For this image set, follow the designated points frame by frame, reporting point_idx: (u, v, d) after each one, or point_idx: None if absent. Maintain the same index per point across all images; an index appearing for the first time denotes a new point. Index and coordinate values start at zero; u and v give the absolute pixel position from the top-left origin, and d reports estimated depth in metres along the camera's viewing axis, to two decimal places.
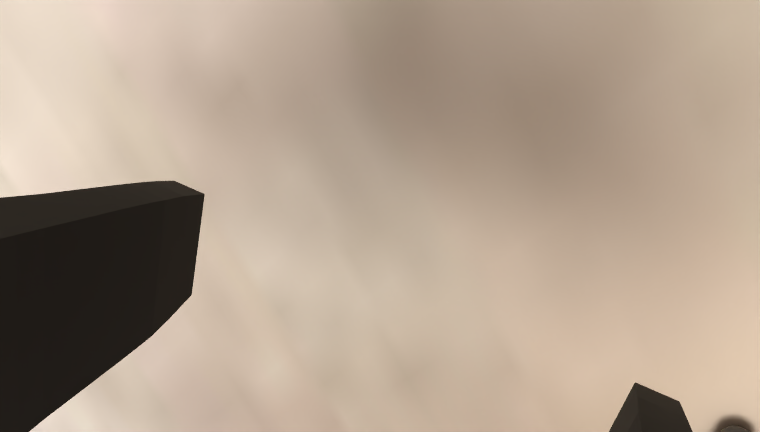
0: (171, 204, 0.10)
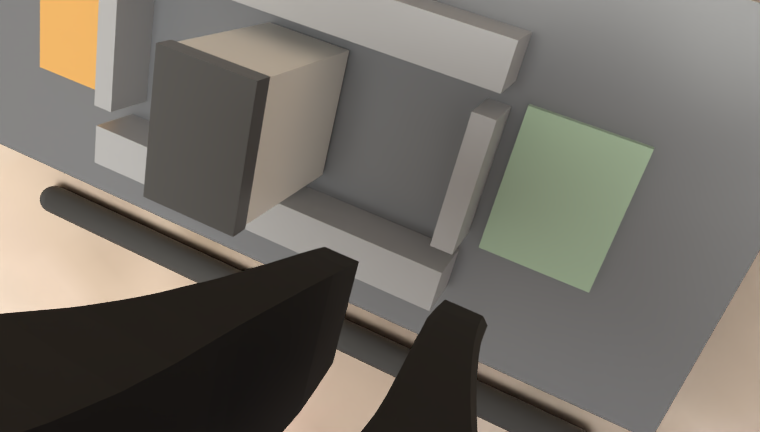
0: (335, 277, 0.10)
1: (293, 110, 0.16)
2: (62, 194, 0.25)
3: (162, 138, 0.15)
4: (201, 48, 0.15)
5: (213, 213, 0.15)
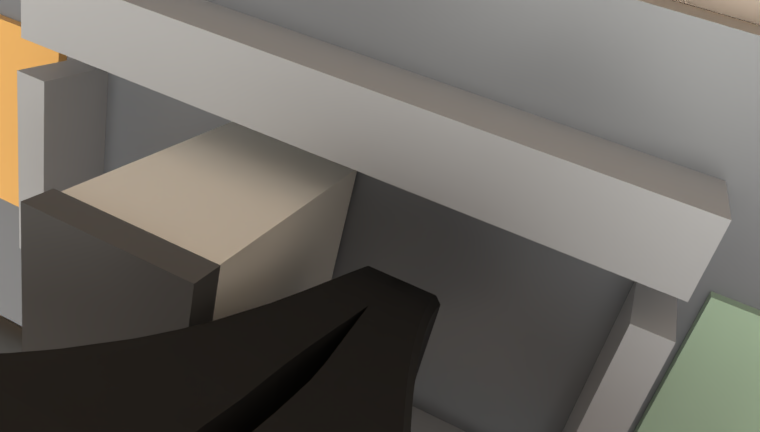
0: None
1: (267, 287, 0.10)
2: None
3: (44, 348, 0.09)
4: (106, 201, 0.09)
5: None
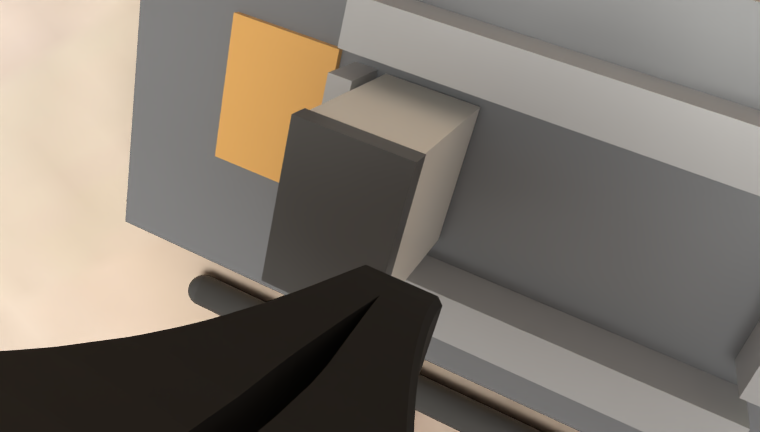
0: None
1: (432, 182, 0.14)
2: (215, 286, 0.22)
3: (290, 219, 0.13)
4: (338, 117, 0.13)
5: None
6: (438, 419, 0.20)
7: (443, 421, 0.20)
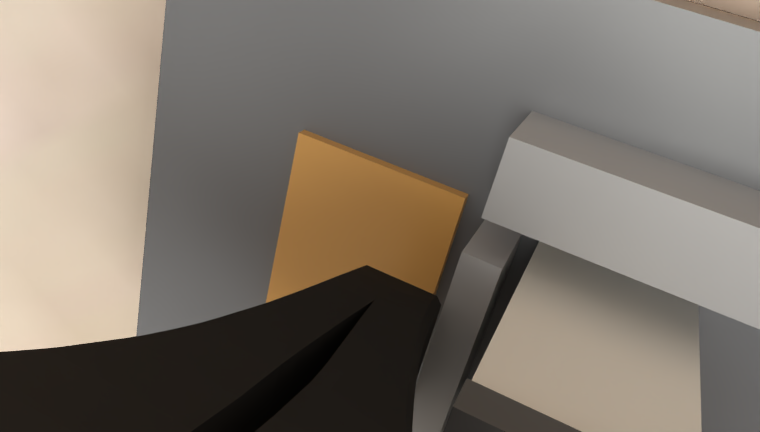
0: None
1: None
2: None
3: None
4: (524, 391, 0.07)
5: None
6: None
7: None
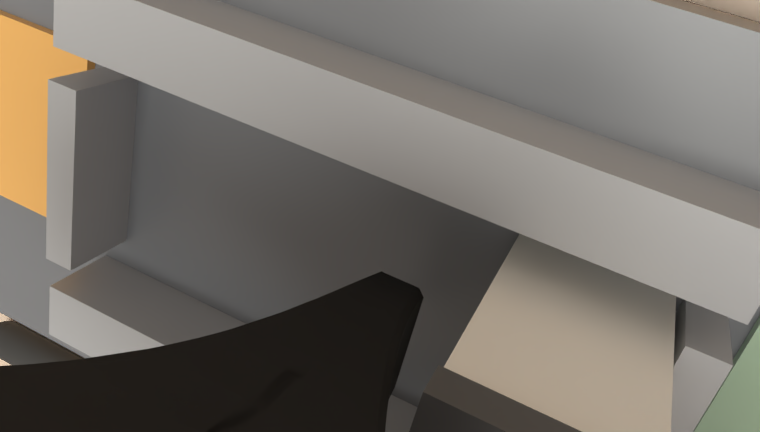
0: None
1: None
2: (16, 336, 0.18)
3: None
4: (496, 378, 0.07)
5: None
6: None
7: None
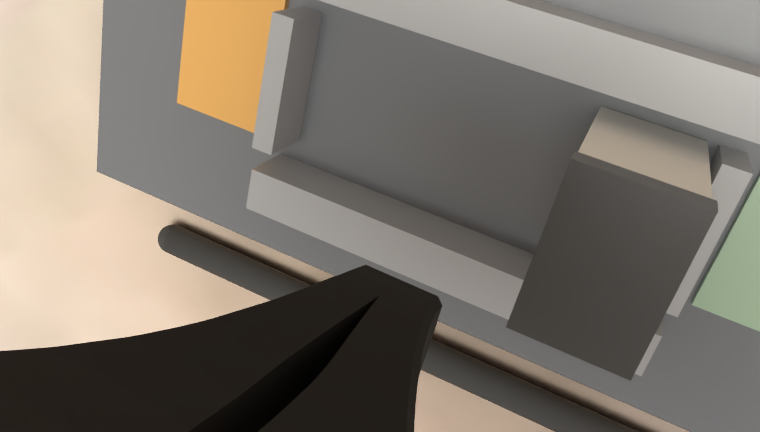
0: None
1: None
2: (183, 234, 0.23)
3: (552, 265, 0.13)
4: (607, 160, 0.12)
5: (607, 353, 0.13)
6: None
7: None
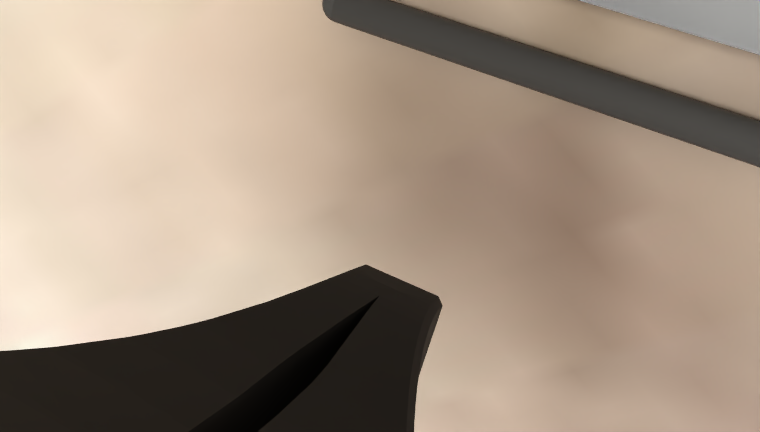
0: None
1: None
2: None
3: None
4: None
5: None
6: (647, 120, 0.17)
7: (653, 121, 0.17)
